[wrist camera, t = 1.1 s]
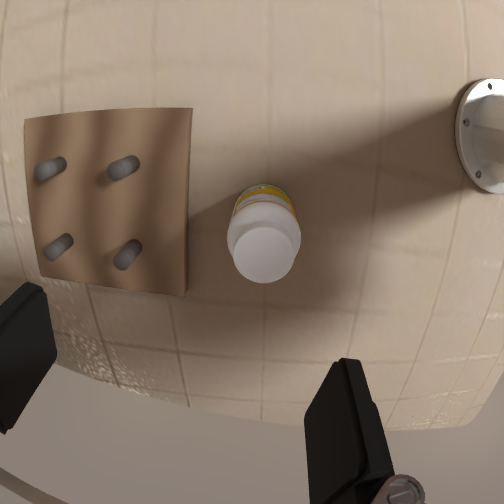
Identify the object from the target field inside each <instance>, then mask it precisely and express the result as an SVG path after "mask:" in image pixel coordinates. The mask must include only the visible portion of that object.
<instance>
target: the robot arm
mask: <svg viewBox="0 0 504 504" xmlns="http://www.w3.org/2000/svg"><path fill="white" fill-rule="evenodd" d="M455 137H456V146H457V150H458V154H459V158H460V160H461V163H462V165H463V168H464V169H465V171H466V173H467V174H468V176H469V177H470V178H471V180H472V181H473V182H474V183H475V184H476V185H478V186H479V187H480V188H482V189H484V190H486V191H488V192H490V193H494V194H504V81H503V80H501V79H495V78H489V79H482V80H479V81H477V82H475V83H474V84H473V85H471V86H470V87H469V88H468V90H467V91H466V92H465V93H464V95H463V97H462V99H461V101H460V104H459V107H458V110H457V115H456V122H455ZM56 357H57V349H56V344H55V340H54V335H53V330H52V325H51V319H50V314H49V308H48V301H47V295H46V293H45V292H44V291H43V288H42V287H41V286H38V285H36V284H33V283H30V282H26V283H24V284H23V285H22V286H21V287H20V288H19V289H18V290H16V291H15V292H14V293H13V294H12V295H11V296H10V297H9V298H8V299H7V300H6V301H5V302H4V303H3V304H2V305H1V306H0V432H1V433H3V434H6V432H7V430H8V429H11V428H13V426H14V425H15V423H16V421H17V420H18V418H19V416H20V415H21V413H22V411H23V410H24V408H25V406H26V405H27V403H28V402H29V400H30V398H31V397H32V395H33V394H34V392H35V390H36V389H37V387H38V386H39V384H40V383H41V381H42V380H43V378H44V377H45V375H46V373H47V372H48V371H49V369H50V368H51V366H52V364H53V363H54V362H55V360H56ZM304 427H305V439H306V451H307V452H306V453H307V466H308V481H309V497H310V504H425V503H424V501H425V492H424V490H423V487H422V485H421V484H420V483H419V481H417V480H416V479H415V478H413V477H411V476H409V475H403V474H399V475H395V473H394V469H393V465H392V461H391V457H390V453H389V449H388V445H387V441H386V438H385V434H384V430H383V426H382V423H381V419H380V416H379V412H378V409H377V406H376V404H375V403H374V402H373V401H372V398H371V395H370V391H369V388H368V385H367V381H366V378H365V375H364V371H363V368H362V365H361V362H360V361H359V360H356V359H348V358H341V359H340V360H339V361H338V362H334V363H333V364H332V366H331V368H330V370H329V372H328V374H327V375H326V377H325V379H324V381H323V383H322V385H321V386H320V388H319V390H318V392H317V394H316V395H315V397H314V399H313V401H312V402H311V404H310V406H309V408H308V409H307V411H306V413H305V417H304ZM0 504H68V503H66V502H64V501H62V500H59V499H57V498H55V497H53V496H51V495H49V494H47V493H45V492H43V491H41V490H39V489H37V488H35V487H33V486H31V485H29V484H28V483H26V482H24V481H22V480H20V479H18V478H17V477H15V476H13V475H12V474H10V473H8V472H7V471H5V470H4V469H2V468H0Z"/></svg>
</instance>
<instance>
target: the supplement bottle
mask: <svg viewBox="0 0 504 504" xmlns="http://www.w3.org/2000/svg"><path fill="white" fill-rule="evenodd" d="M227 244H228V248H229V251H230V253H231V255H232V257H233V260H234V264H235V266H236V268H237V270H238V271H239V272H240V273H241V274H242V275H243V276H244V277H245V278H247V279H249V280H251V281H253V282H257V283H270V282H274V281H277V280H279V279H281V278H282V277H284V276H285V275H286V274H287V273H288V272H289V270H290V269H291V267H292V265H293V263H294V258H295V257H296V255H297V253H298V251H299V248H300V244H301V232H300V227H299V224H298V221H297V218H296V215H295V211H294V209H293V206H292V203H291V201H290V199H289V197H288V196H287V195H286V194H285V193H284V192H283V191H282V190H281V189H279V188H277V187H275V186H272V185H268V184H259V185H255V186H252V187H250V188H248V189H246V190H245V191H244V192H243V193H242V194H241V195H240V196H239V197H238V199H237V201H236V203H235V206H234V210H233V213H232V217H231V220H230V224H229V227H228V232H227Z"/></svg>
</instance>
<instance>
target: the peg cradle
mask: <svg viewBox="0 0 504 504" xmlns="http://www.w3.org/2000/svg"><path fill="white" fill-rule="evenodd" d="M192 112H193V108H132V109H112V110H98V111H86V112H75V113H66V114H58V115H50V116H43V117H36V118H29V119H25V162H26V177H27V189H28V199H29V207H30V215H31V222H32V229H33V235H34V241H35V247H36V252H37V257H38V262H39V267H40V272H41V276H43V277H49V278H55V279H61V280H67V281H73V282H79V283H86V284H92V285H99V286H106V287H113V288H120V289H127V290H135V291H142V292H150V293H158V294H166V295H175V296H183V297H185V295H186V292H187V290H188V260H187V255H188V192H189V165H190V144H191V127H192Z"/></svg>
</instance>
